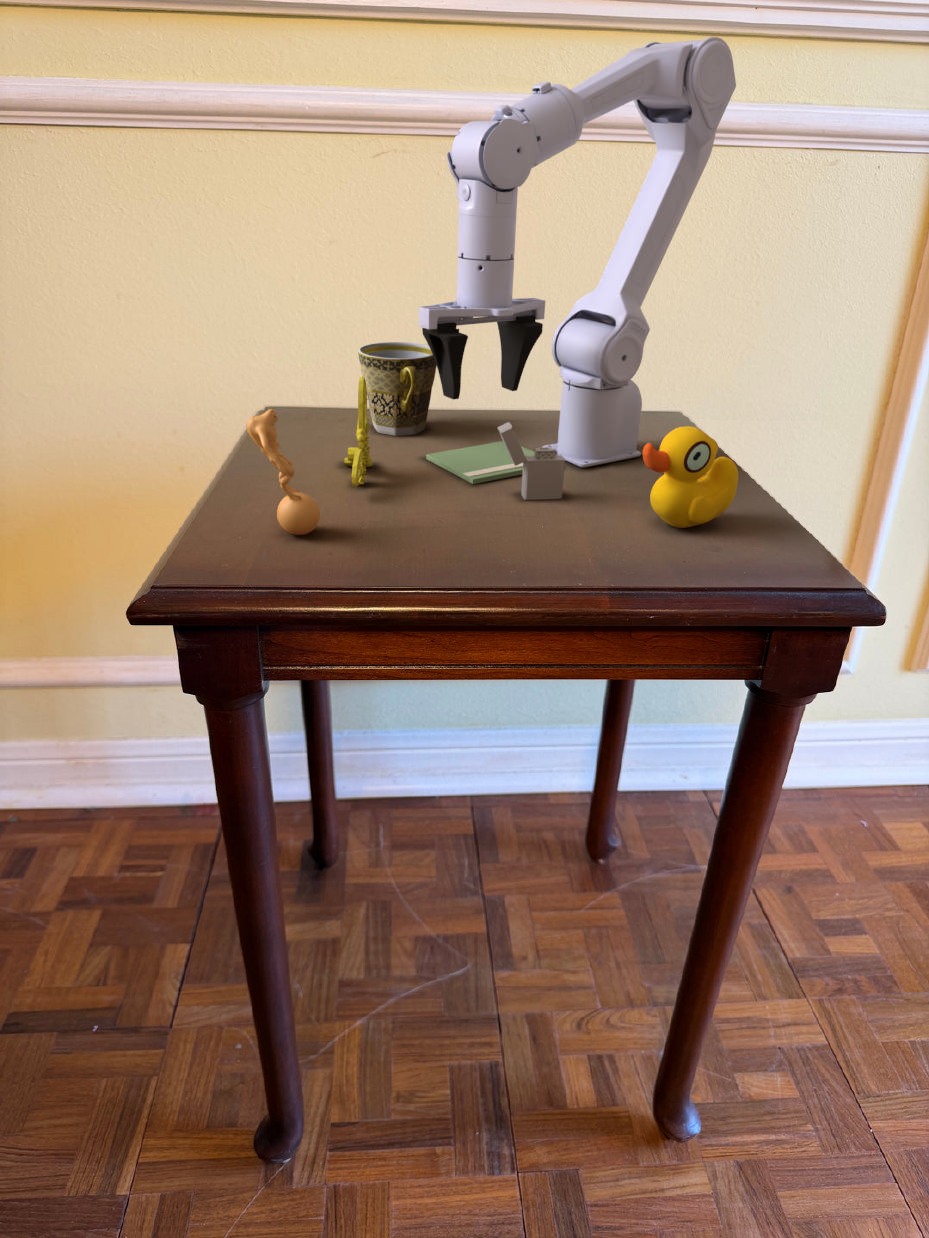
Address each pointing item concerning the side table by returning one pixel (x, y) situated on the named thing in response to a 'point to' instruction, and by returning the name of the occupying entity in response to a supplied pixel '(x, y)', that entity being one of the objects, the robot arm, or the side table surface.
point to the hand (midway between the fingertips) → (480, 393)
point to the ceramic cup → (398, 385)
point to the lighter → (535, 467)
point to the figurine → (284, 478)
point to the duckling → (690, 478)
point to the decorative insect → (360, 440)
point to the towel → (479, 462)
